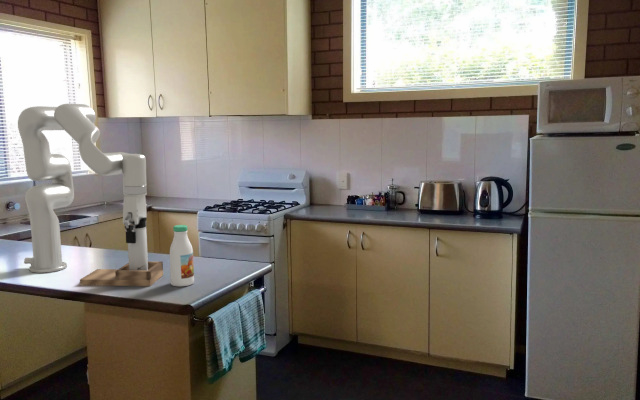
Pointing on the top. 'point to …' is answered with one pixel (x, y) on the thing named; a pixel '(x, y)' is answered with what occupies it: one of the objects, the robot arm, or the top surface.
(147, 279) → the open box
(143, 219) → the travel mug
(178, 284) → the milk bottle
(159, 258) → the top surface
